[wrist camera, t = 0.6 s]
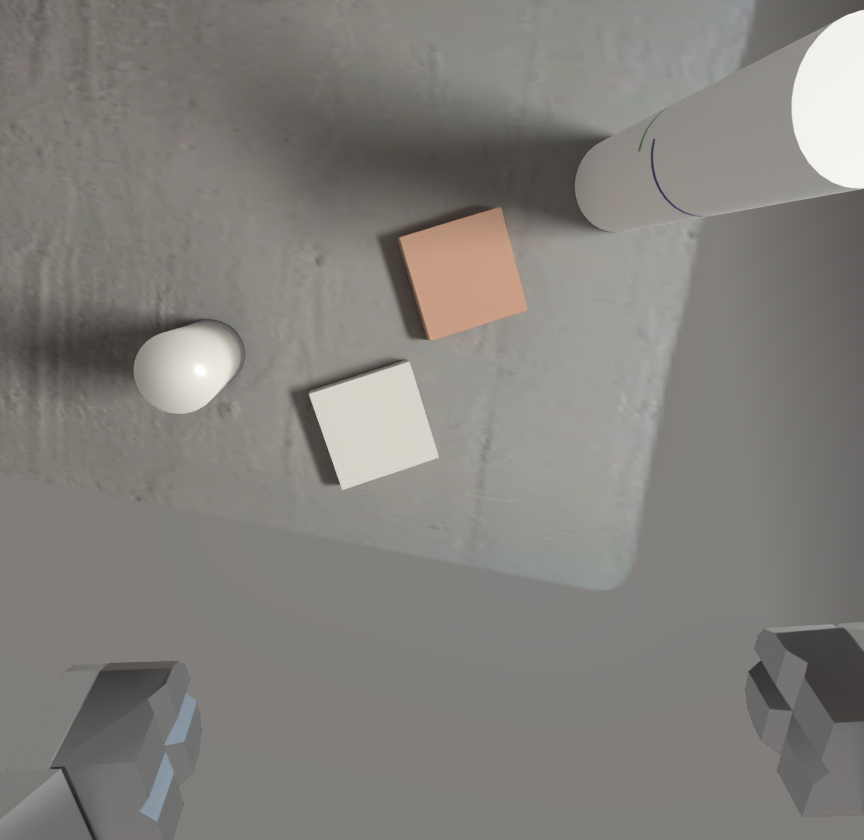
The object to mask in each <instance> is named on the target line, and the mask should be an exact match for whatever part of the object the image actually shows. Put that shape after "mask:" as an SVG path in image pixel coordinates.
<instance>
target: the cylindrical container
mask: <svg viewBox="0 0 864 840" xmlns="http://www.w3.org/2000/svg"><path fill="white" fill-rule="evenodd" d="M858 189H864V10H862V11H858V12H855V13H852V14H849V15H846V16H844V17H842V18H840V19H839V20H836V21H835V22H833V23H831V24H829V25H827V26H825V27H823V28H821V29H819V30H817V31H815V32H813V33H811V34H809V35H807V36H805V37H803V38H801V39H799V40H797V41H796V42H794V43H792V44H790V45H788V46H786V47H784V48H782V49H780V50H778V51H776V52H774V53H772V54H770V55H768V56H767V57H764V58H762V59H761V60H759V61H757V62H755V63H753V64H751V65H749V66H747V67H745V68H743V69H741V70H739V71H737V72H735V73H733V74H731V75H729V76H728V77H726V78H724V79H722V80H720V81H718V82H716V83H714V84H712V85H710V86H708V87H706V88H704V89H702V90H700V91H698V92H696V93H694V94H693V95H691V96H689V97H687V98H685V99H683V100H681V101H679V102H677V103H675V104H673V105H672V106H670V107H668V108H666V109H664V110H662V111H660V112H658V113H656V114H654V115H652V116H650V117H648V118H646V119H644V120H642V121H641V122H639V123H637V124H635V125H633V126H631V127H629V128H627V129H625V130H623V131H621V132H619V133H617V134H615V135H613V136H611V137H609V138H607V139H606V140H604V141H602V142H600V143H598V144H596V145H595V146H594V147H593V148H592V149H590V150H589V151H588V152H587V154H586V155H585V156H584V158H583V159H582V161H581V163H580V165H579V167H578V170H577V174H576V178H575V195H576V199H577V203H578V205H579V208H580V210H581V212H582V213H583V215H584V216H585V217H586V219H587V220H588V221H589V222H591V223H592V224H593V225H594V226H596V227H598V228H599V229H601V230H605V231H608V232H625V231H630V230H636V229H642V228H647V227H653V226H658V225H664V224H669V223H675V222H680V221H686V220H692V219H697V218H703V217H708V216H713V215H719V214H724V213H730V212H736V211H741V210H746V209H753V208H758V207H764V206H769V205H775V204H780V203H786V202H791V201H797V200H802V199H808V198H814V197H819V196H825V195H830V194H836V193H842V192H847V191H853V190H858Z"/></svg>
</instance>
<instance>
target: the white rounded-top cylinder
mask: <svg viewBox="0 0 864 840" xmlns="http://www.w3.org/2000/svg"><path fill="white" fill-rule="evenodd" d="M244 358H245V350H244V345H243V342H242V340H241V338H240V336H239V335H238V334H237V332H236V331H235V330H234V329H233V328H232V327H230V326H229V325H227V324H225V323H223V322H221V321H217V320H212V319H206V320H200V321H196V322H193V323H190V324H188V325H186V326H184V327H181V328H177V329H174V330H170V331H167V332H164V333H161V334H158V335H156V336H154V337H152V338H151V339H149V340H148V341H147V342H146V343H145V344H144V345H143V346H142V347H141V348H140V350H139V352H138V354H137V356H136V358H135V362H134V378H135V382H136V385H137V387H138V389H139V391H140V393H141V394H142V396H143V397H144V398H145V399H146V400H147V401H148V402H149V403H150V404H152V405H153V406H154V407H156V408H158V409H160V410H163V411H165V412H169V413H176V414H183V413H189V412H193V411H196V410H198V409H200V408H202V407H203V406H205V405H206V404H207V403H208V402H209V401H210V400H211V399H212V398H213V397H214V396H215V395H216V394H217V393H218V392H219V391H220V390H221V389H222V388H223V387H224V386H225V385H226V384H228V383H229V382H230V381H232V380H233V379H234V378H235V376H236V375H237V374H238V373H239V372H240V370H241V368H242V366H243V363H244Z"/></svg>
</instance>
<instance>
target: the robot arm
mask: <svg viewBox="0 0 864 840" xmlns="http://www.w3.org/2000/svg"><path fill="white" fill-rule="evenodd" d="M754 649H755V651H756V653H757V655H758V656H759V658H760V659H761V661H760V662H759V663H758V664H756V665H755V666H754V667H753V668H752V669H751V670H750V671H749V672H748V677H747V682H746V687H745V692H746V701H747V709H748V712H749V715H750V718H751V721H752V724H753V726H754V728H755V730H756V732H757V734H758V736H759V738H760V740H761V741H762V742H764V743H765V744H766V745H768V746H769V747H771V748H772V749H773V750H774V751H776V752H777V753H778V754H780V758H779V762H778V767H777V772H778V774H779V775H780V777H781V779H782V781H783V783H784V785H785V786H786V788H787V790H788V792H789V794H790V796H791V798H792V799H793V801H794V803H795V805H796V807H797V809H798V811H799V812H800V814H801V816H802V817H826V816H859V815H861V816H862V815H864V622H862V623H846V624H835V625H830V624H828V625H812V626H797V627H782V628H767V629H763V630H762V632H760V634H759V635H758V636H757V640H756V644H755V648H754ZM190 680H191V679H190V676H189V673H188V670H187V667H186V664H185V663H184V662H180V661H161V662H128V663H109V664H84V665H83V664H80V665H72V666H71V667H70V668H68V669H67V670H66V671H65V672H64V673H63V674H62V675H61V677H60V679H59V680H58V682H57V684H56V686H55V688H54V689H53V691H52V693H51V694H50V696H49V698H48V699H47V701H46V703H45V705H44V707H43V708H42V710H41V712H40V713H39V715H38V717H37V719H36V720H35V722H34V724H33V725H32V727H31V729H30V731H29V732H28V734H27V736H26V738H25V739H24V741H23V743H22V745H21V746H20V748H19V750H18V751H17V753H16V755H15V757H14V758H13V760H12V762H11V763H10V765H9V767H8V769H7V770H6V771H5V772H0V840H173V838H174V835H175V831H176V828H177V825H178V822H179V818H180V815H181V812H182V809H183V805H184V802H183V799H182V796H181V793H180V790H179V786H180V785H181V784H183V782H184V781H185V780H187V778H188V777H189V776H190V775H192V774H193V773H194V769H195V766H196V762H197V759H198V755H199V750H200V741H201V731H202V728H201V717H200V716H201V715H200V711H199V707H198V704H197V701H195V700H194V699H193V698H191V697H190V696H189V695H187V694H186V692H187V689H188V686H189V683H190Z"/></svg>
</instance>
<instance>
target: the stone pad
mask: <svg viewBox="0 0 864 840" xmlns="http://www.w3.org/2000/svg"><path fill="white" fill-rule="evenodd" d="M309 396H310V399H311V402H312V405H313V407H314V410H315V413H316V416H317V419H318V422H319V425H320V427H321V430H322V433H323V436H324V439H325V442H326V445H327V448H328V450H329V453H330V456H331V459H332V462H333V465H334V468H335V471H336V473H337V476H338V479H339V482H340V485H341V488H342V490H344V489H347V488H350V487H353V486H356V485H359V484H362V483H365V482H368V481H371V480H374V479H377V478H379V477H382V476H385V475H388V474H391V473H394V472H397V471H400V470H403V469H406V468H409V467H412V466H415V465H418V464H421V463H424V462H427V461H430V460H433V459H436V458H439V456H438V453H437V450H436V446H435V443H434V440H433V437H432V433H431V430H430V427H429V424H428V420H427V417H426V414H425V411H424V407H423V404H422V401H421V398H420V394H419V391H418V388H417V385H416V381H415V378H414V375H413V372H412V368H411V365H410V362H409V361H408V360H404V361H401V362H398V363H395V364H391V365H388V366H385V367H382V368H379V369H376V370H373V371H370V372H367V373H363V374H360V375H357V376H354V377H351V378H348V379H345V380H342V381H339V382H335V383H332V384H329V385H326V386H323V387H320V388H317V389H314V390H310V391H309Z"/></svg>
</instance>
